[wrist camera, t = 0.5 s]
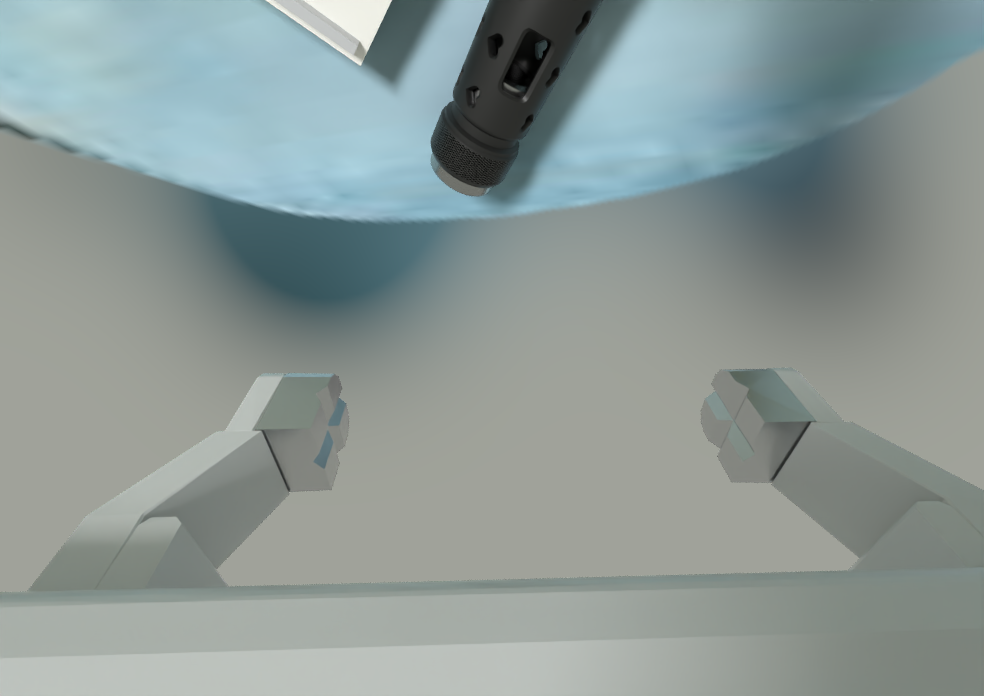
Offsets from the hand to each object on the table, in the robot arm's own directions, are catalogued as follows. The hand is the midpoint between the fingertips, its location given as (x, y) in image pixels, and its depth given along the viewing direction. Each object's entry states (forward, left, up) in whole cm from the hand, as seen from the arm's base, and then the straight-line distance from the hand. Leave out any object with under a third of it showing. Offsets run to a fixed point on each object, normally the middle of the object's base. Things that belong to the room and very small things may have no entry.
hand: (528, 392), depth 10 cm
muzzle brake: (+6, +9, -50) cm, 51 cm away
